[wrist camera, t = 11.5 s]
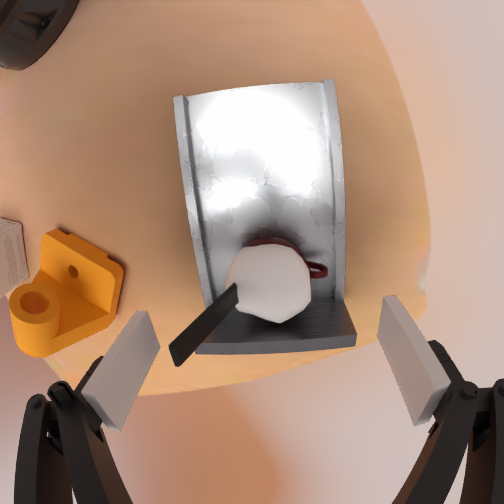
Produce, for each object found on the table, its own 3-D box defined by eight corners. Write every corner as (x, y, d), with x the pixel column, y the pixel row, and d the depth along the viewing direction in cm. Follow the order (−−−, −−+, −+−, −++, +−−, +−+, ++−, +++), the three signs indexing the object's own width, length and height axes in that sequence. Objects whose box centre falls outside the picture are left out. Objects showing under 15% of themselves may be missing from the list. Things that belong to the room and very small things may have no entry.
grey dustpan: (180, 100, 20) (146, 84, 14) (329, 84, 19) (350, 60, 12) (212, 308, 27) (195, 354, 21) (338, 301, 26) (355, 346, 19)
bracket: (128, 264, 26) (59, 329, 15) (118, 314, 29) (63, 382, 18) (57, 224, 26) (-19, 263, 14) (52, 274, 28) (-9, 322, 17)
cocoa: (326, 244, 23) (379, 319, 12) (301, 305, 25) (325, 403, 14) (219, 212, 23) (181, 267, 11) (202, 278, 25) (164, 369, 13)
